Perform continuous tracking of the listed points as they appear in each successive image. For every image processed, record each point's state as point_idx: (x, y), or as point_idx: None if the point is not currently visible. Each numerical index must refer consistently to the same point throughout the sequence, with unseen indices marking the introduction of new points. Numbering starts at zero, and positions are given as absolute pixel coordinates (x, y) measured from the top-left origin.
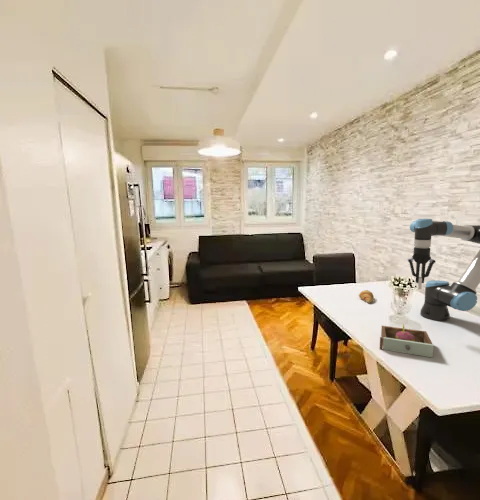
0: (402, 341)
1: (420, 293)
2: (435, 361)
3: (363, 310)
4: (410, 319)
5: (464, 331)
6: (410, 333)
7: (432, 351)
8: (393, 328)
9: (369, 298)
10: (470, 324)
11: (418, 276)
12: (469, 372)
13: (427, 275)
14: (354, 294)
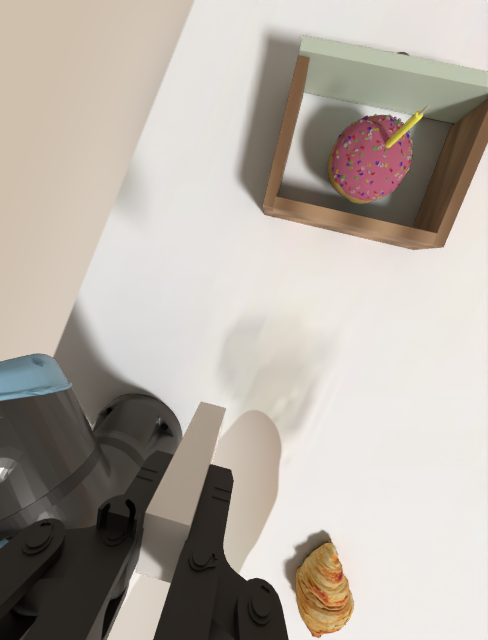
0: (429, 62)
1: None
2: None
3: (379, 478)
4: (233, 403)
5: (99, 318)
6: (351, 155)
7: None
8: (395, 224)
9: (327, 566)
10: None
11: (189, 556)
12: None
13: (27, 547)
14: (349, 620)
